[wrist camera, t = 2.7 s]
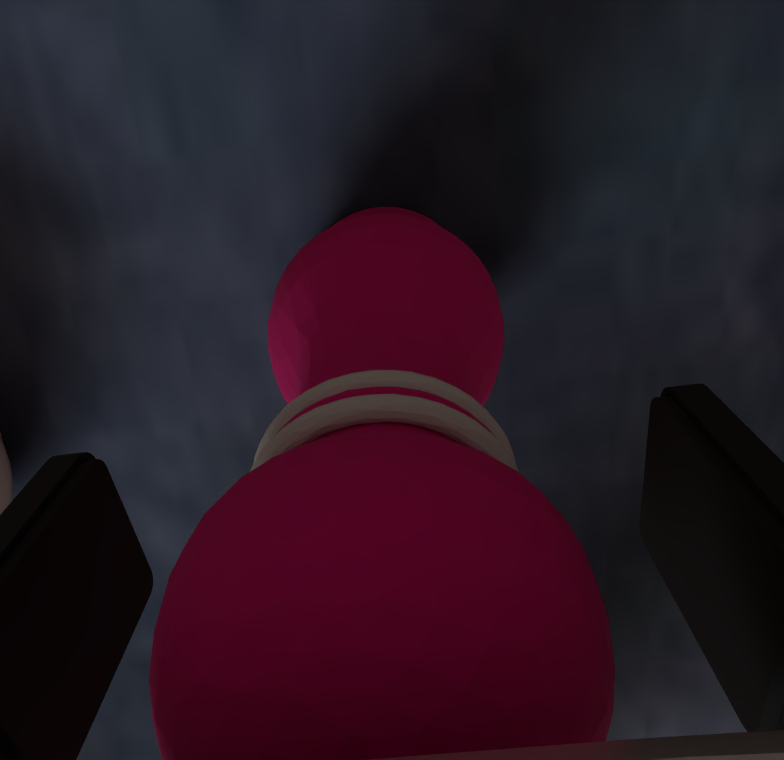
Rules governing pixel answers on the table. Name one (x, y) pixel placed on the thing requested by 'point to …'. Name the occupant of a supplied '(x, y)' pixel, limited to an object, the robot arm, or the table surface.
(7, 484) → the lidded bowl
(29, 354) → the table surface
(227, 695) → the pepper mill
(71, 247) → the table surface
